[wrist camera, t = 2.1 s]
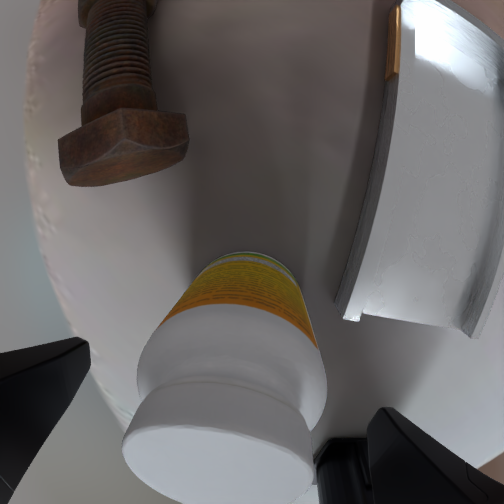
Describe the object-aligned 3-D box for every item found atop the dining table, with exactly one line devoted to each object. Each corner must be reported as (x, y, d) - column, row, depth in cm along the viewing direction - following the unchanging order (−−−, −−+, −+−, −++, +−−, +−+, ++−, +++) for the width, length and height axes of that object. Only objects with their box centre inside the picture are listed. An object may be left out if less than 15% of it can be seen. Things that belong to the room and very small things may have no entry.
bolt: (151, -12, 11) (172, 173, 14) (82, -3, 9) (79, 194, 12) (171, -68, 6) (201, 137, 8) (86, -60, 4) (51, 169, 6)
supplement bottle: (177, 267, 13) (44, 391, 4) (284, 234, 13) (331, 356, 3) (215, 358, 14) (166, 518, 5) (312, 335, 14) (356, 505, 4)
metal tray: (464, 327, 13) (494, 352, 10) (330, 302, 13) (348, 336, 10) (505, 81, 9) (535, 71, 6) (387, 7, 9) (408, -23, 6)
